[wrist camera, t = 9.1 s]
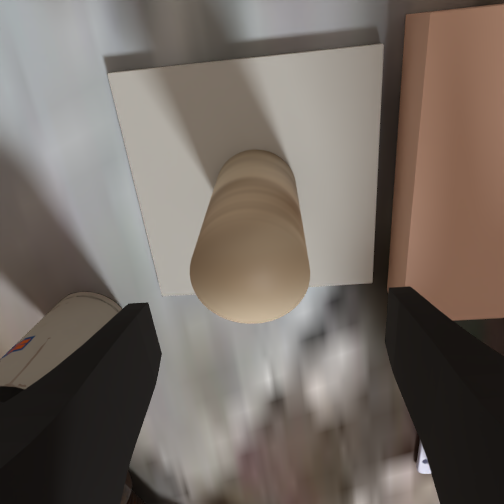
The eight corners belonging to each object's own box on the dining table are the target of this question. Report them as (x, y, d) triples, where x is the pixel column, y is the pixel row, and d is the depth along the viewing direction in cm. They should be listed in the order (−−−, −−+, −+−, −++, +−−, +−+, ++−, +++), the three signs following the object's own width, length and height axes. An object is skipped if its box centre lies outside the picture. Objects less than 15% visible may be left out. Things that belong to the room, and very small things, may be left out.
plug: (298, 222, 22) (312, 320, 15) (221, 228, 22) (200, 326, 15) (293, 145, 20) (307, 216, 13) (210, 153, 20) (179, 226, 13)
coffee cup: (165, 304, 25) (110, 454, 16) (126, 377, 28) (63, 536, 20) (52, 256, 24) (-74, 392, 15) (24, 338, 27) (-93, 491, 18)
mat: (370, 277, 24) (372, 283, 23) (164, 290, 25) (162, 296, 24) (380, 43, 18) (383, 44, 17) (111, 72, 19) (107, 73, 18)
